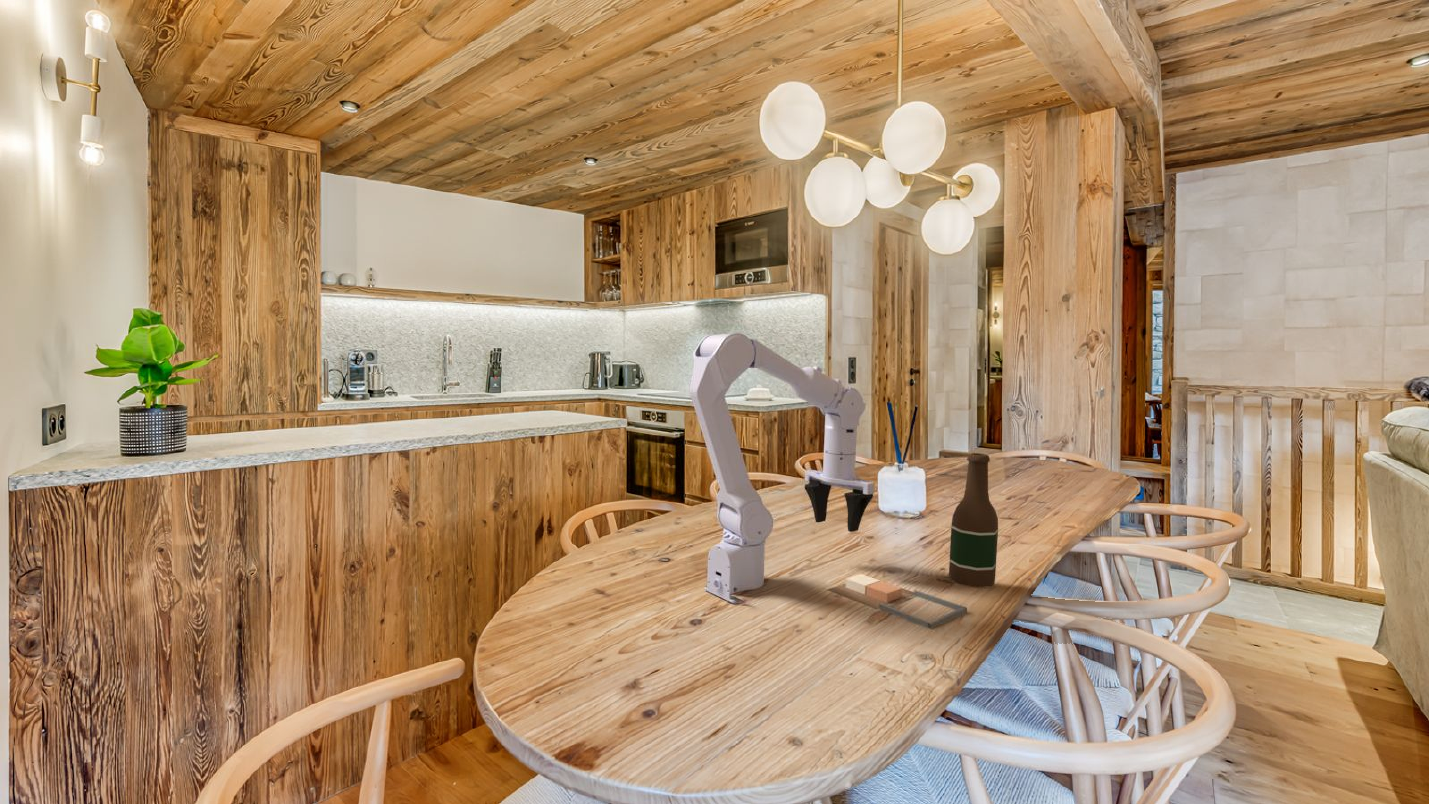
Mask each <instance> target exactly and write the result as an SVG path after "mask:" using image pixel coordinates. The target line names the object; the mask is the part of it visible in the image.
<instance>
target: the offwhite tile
mask: <svg viewBox="0 0 1429 804" xmlns="http://www.w3.org/2000/svg"><path fill="white" fill-rule="evenodd" d="M880 581H881V580H880V579H877V578H874V577H871V576H868V575H866V574H863V573H860V574H856V575H853V576H849V577H847V578H845V583H846V588H849V589H852V590H854V591H857V592H860V593H862V594H866V592H867V586H869V585H872V584H875V583H877V582H880Z"/></svg>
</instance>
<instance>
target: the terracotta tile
mask: <svg viewBox="0 0 1429 804" xmlns="http://www.w3.org/2000/svg"><path fill="white" fill-rule="evenodd" d="M902 588H903V587H899V586H897V585H894V584H891V583H888V582H885V581H882V580H880V582H877V583H875V584H872V585H869V586H867V592H866V595H868V596H870V597H873V598H876V599H878V600H881V601H884V602H886V603H887V602H890V601H893V600H895V599H898V598H901V597H902Z"/></svg>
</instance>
